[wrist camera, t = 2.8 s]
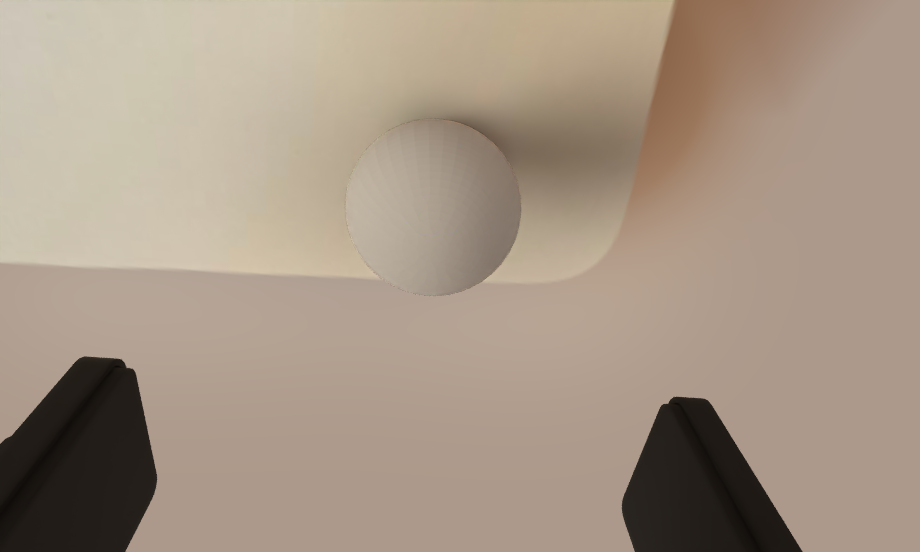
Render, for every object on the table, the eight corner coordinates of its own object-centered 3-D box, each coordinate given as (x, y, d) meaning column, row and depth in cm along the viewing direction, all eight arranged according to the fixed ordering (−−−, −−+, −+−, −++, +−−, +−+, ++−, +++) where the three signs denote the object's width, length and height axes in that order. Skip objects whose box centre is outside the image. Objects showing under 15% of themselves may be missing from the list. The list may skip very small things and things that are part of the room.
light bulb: (346, 105, 24) (294, 193, 15) (476, 56, 23) (498, 120, 14) (399, 222, 27) (380, 352, 18) (517, 183, 26) (554, 299, 17)
